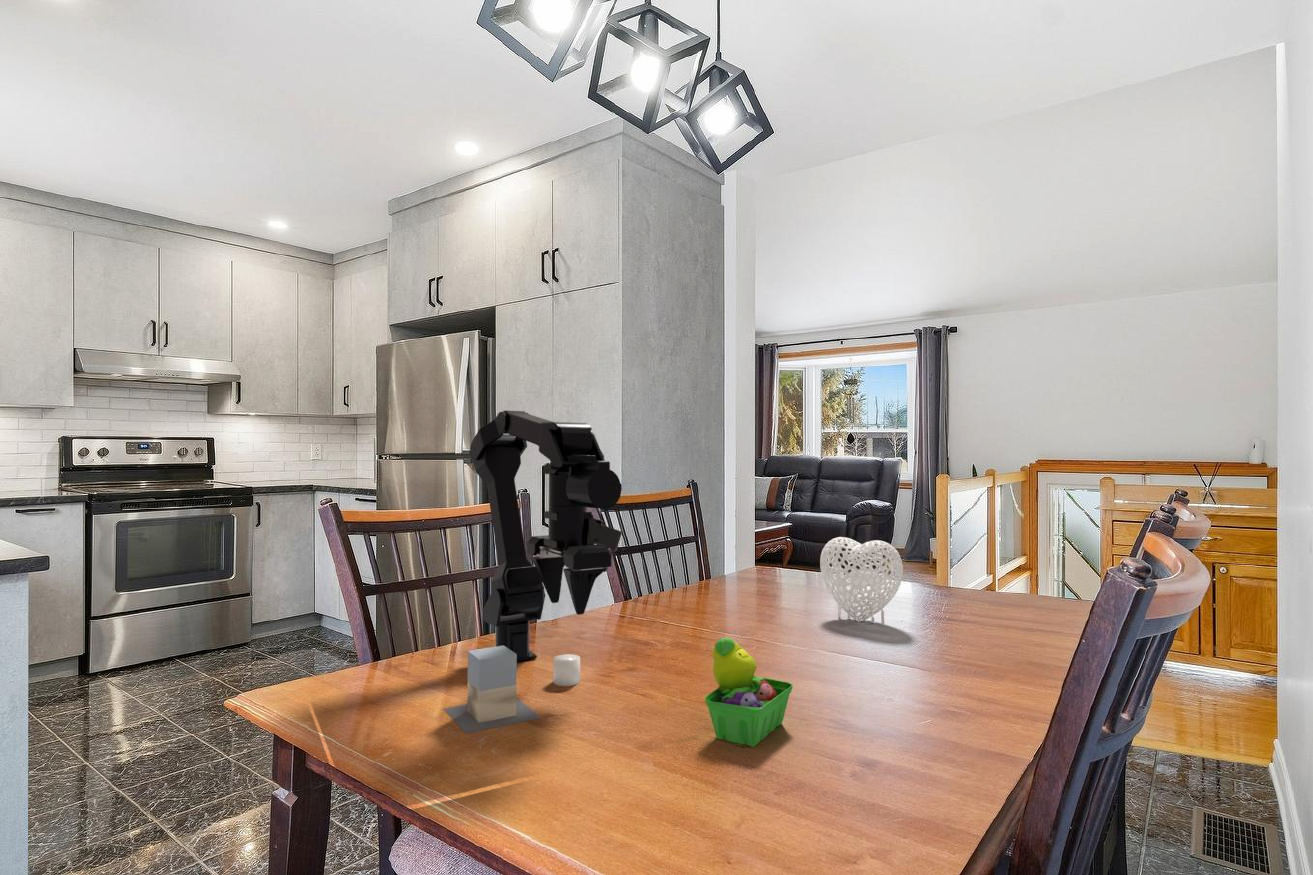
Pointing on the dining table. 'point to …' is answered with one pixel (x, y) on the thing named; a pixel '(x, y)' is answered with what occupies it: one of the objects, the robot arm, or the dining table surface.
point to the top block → (492, 668)
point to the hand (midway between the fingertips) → (567, 608)
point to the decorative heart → (861, 576)
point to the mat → (473, 725)
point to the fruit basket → (744, 697)
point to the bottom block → (491, 703)
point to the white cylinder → (566, 670)
